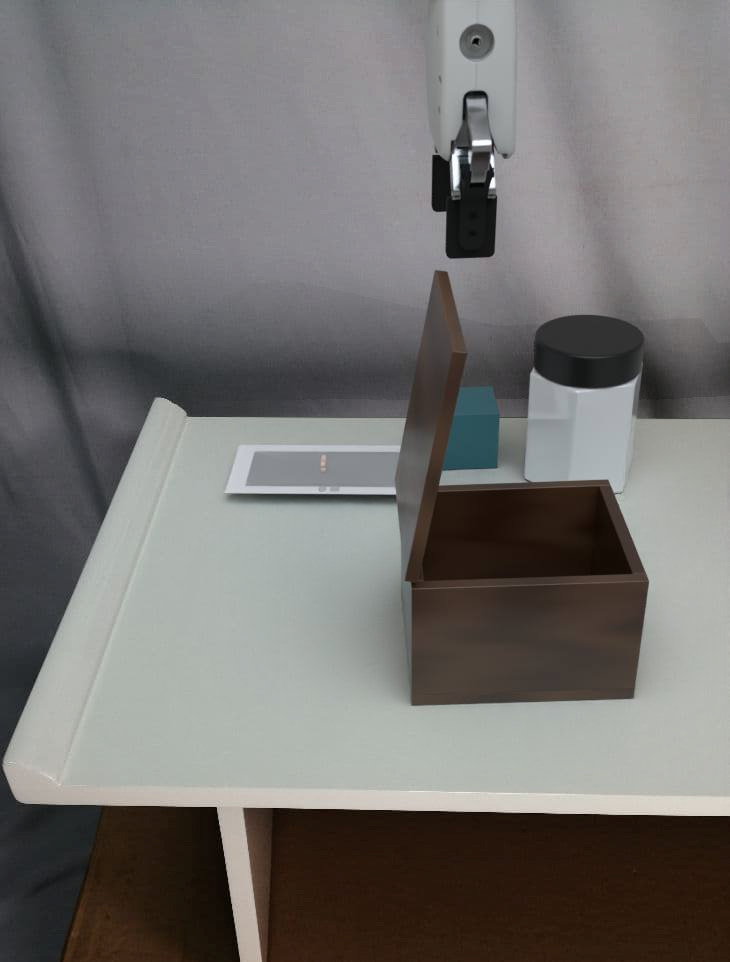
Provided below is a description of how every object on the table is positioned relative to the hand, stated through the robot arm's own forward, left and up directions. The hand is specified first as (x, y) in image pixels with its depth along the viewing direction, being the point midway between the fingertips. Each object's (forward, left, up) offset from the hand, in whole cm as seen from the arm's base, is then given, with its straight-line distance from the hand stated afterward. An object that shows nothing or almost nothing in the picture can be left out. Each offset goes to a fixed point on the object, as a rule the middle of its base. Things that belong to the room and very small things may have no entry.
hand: (461, 232), depth 82 cm
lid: (+3, +20, -5) cm, 20 cm away
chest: (-2, +20, -21) cm, 29 cm away
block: (-1, -6, -21) cm, 22 cm away
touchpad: (+10, -2, -21) cm, 24 cm away
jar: (-10, -2, -21) cm, 24 cm away
